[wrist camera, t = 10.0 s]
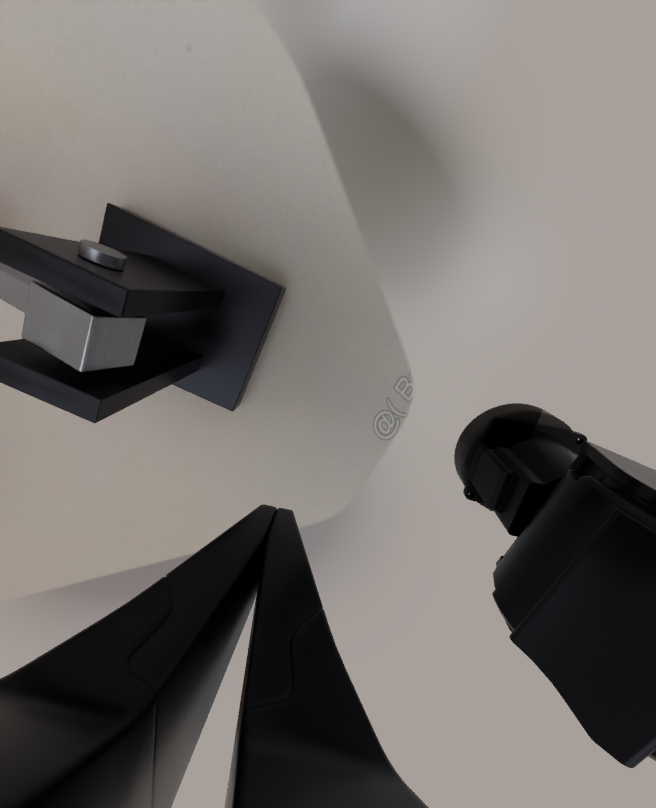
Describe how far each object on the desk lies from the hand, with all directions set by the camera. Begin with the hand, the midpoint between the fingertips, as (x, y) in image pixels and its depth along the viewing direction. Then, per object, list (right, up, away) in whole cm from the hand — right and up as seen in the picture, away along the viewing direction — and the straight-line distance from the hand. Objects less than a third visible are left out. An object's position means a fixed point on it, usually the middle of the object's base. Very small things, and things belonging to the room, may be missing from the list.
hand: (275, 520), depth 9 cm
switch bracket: (-7, +8, +11) cm, 16 cm away
